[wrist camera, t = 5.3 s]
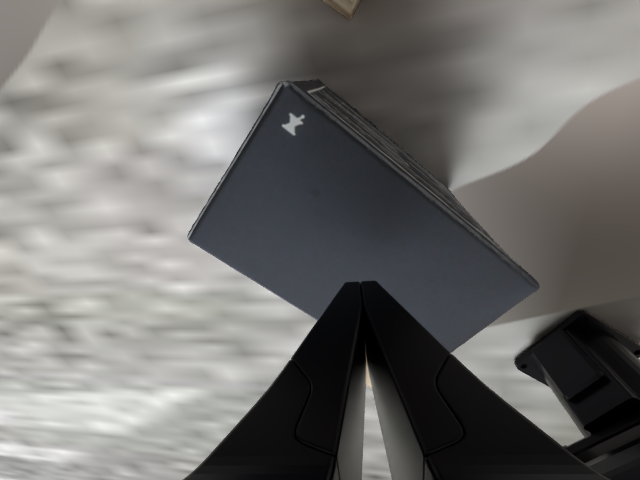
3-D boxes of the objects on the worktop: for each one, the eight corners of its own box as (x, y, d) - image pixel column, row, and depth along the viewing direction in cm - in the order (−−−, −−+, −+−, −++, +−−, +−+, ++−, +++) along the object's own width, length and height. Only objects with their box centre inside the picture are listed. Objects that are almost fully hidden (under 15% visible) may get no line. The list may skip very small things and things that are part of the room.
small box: (253, 168, 20) (171, 243, 10) (314, 74, 17) (280, 60, 8) (381, 261, 22) (410, 391, 13) (452, 189, 20) (554, 285, 10)
